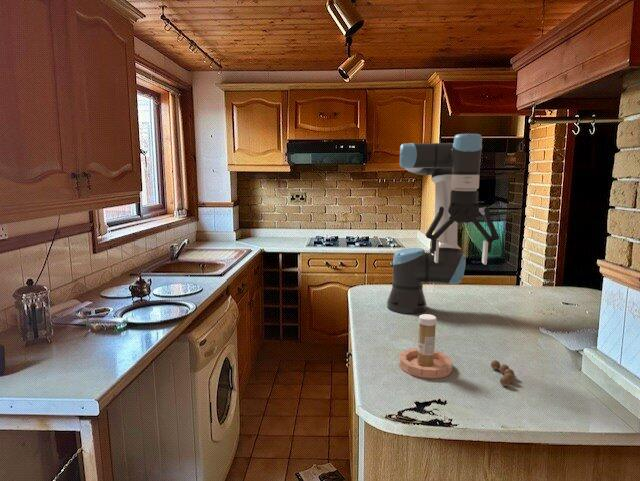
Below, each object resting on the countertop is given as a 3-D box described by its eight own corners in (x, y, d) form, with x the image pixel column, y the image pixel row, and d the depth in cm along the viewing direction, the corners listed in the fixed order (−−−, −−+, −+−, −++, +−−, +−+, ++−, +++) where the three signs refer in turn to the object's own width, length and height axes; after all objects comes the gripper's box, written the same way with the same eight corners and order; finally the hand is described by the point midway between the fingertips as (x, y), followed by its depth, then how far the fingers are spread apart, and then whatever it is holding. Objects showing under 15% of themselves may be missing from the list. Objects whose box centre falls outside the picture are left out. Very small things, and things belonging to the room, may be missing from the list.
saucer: (397, 354, 123) (397, 347, 123) (446, 357, 122) (446, 349, 121) (401, 377, 109) (401, 368, 109) (457, 380, 108) (457, 371, 108)
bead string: (487, 366, 116) (488, 358, 115) (506, 367, 115) (506, 359, 115) (501, 387, 104) (502, 378, 104) (521, 389, 104) (522, 379, 103)
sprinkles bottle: (414, 360, 118) (416, 313, 115) (430, 359, 118) (433, 313, 116) (420, 367, 113) (422, 319, 111) (436, 367, 113) (439, 318, 111)
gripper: (421, 190, 119) (417, 264, 122) (514, 191, 115) (508, 267, 119) (418, 188, 126) (415, 258, 130) (506, 189, 123) (500, 261, 126)
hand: (459, 262), depth 124 cm, fingers open, 13 cm apart
